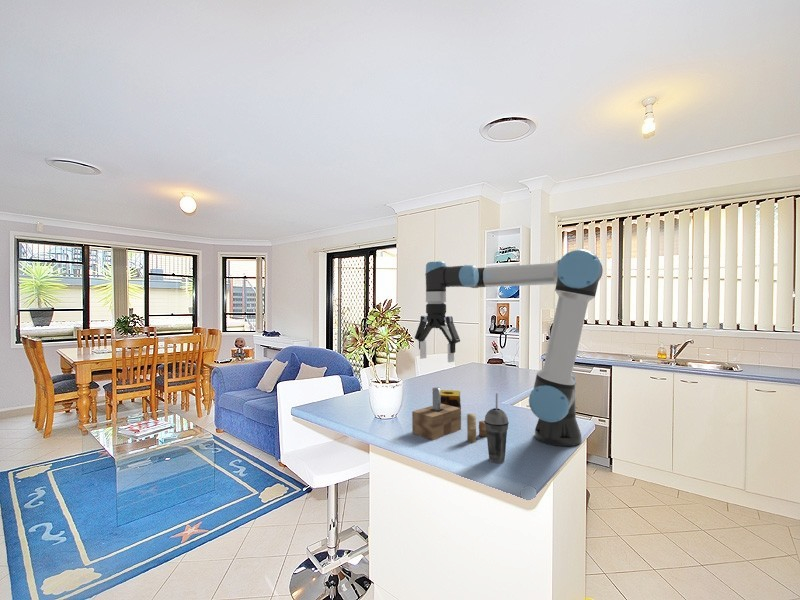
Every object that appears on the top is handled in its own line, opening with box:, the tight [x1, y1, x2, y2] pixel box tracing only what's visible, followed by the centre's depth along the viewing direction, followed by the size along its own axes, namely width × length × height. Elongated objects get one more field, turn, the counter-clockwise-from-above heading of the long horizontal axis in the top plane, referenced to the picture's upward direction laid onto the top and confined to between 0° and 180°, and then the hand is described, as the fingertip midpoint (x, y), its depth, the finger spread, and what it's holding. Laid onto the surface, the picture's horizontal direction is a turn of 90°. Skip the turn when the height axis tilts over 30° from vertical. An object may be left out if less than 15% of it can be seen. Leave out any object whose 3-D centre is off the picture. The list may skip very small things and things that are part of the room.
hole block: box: [411, 404, 462, 441], centre depth 144 cm, size 10×16×8 cm, turn 134°
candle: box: [441, 389, 462, 409], centre depth 163 cm, size 10×10×10 cm
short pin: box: [478, 420, 487, 438], centre depth 139 cm, size 3×3×5 cm
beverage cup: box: [483, 393, 510, 464], centre depth 118 cm, size 7×7×20 cm
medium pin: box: [466, 413, 477, 443], centre depth 134 cm, size 3×3×9 cm
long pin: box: [432, 387, 442, 412], centre depth 145 cm, size 3×3×16 cm
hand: (436, 360), depth 145 cm, fingers open, 13 cm apart
